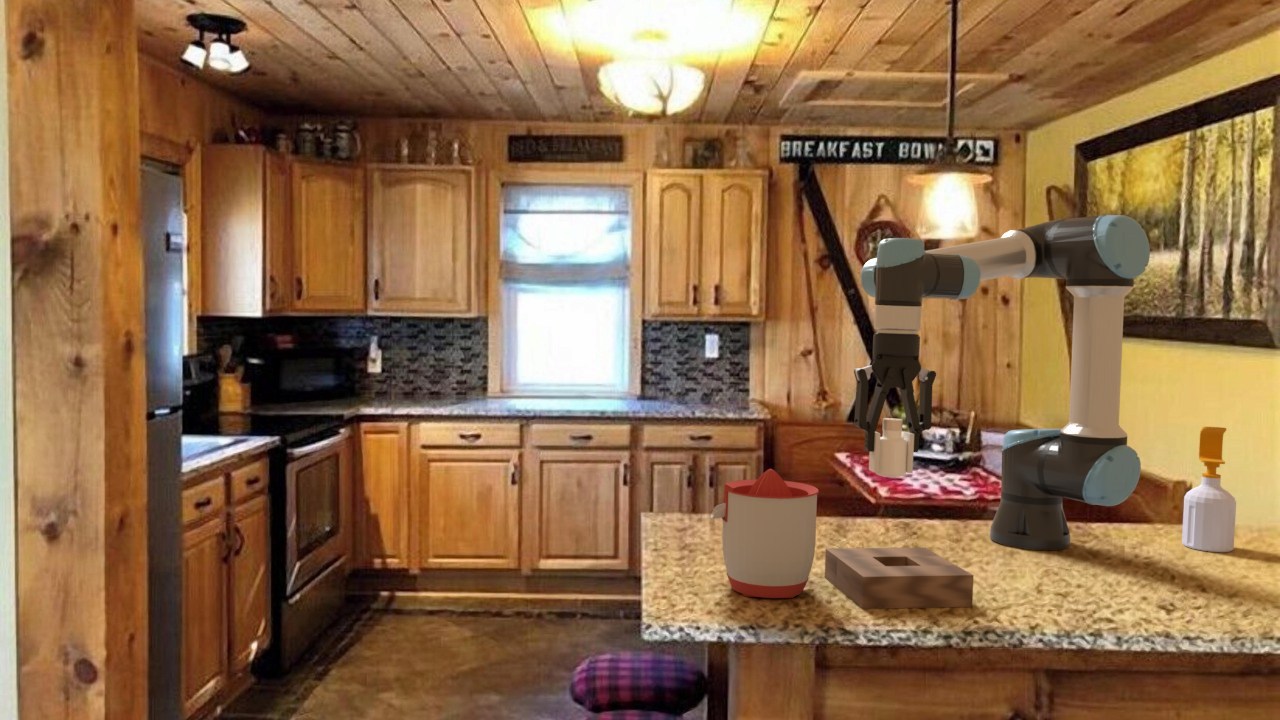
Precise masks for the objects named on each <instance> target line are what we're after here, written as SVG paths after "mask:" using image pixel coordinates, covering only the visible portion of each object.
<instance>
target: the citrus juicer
mask: <svg viewBox="0 0 1280 720" xmlns="http://www.w3.org/2000/svg"><path fill="white" fill-rule="evenodd" d="M723 491H724V493H723V503H721V504H717V505H716V506H714V507H713V510H712V512H711V514H710V519H711V520H714V519H721V520H722V532H721V535H722V537H721V538H722V540H721V542H722V553H723V554H722V555H723V561H724V566H725V569H726V577H727V578H728V581H729V584H730V586H731V588H732V589H733V590H734V591H736V592H737V593H740V594H742V595H743V596H744V597H749V598H753V597H756V598H765V599H780V598H781V599H784V598H785V599H793V598H795V597H796V596H799V595H801V594H802V593H803V591H804V590H805V588H806V585H807V583H808V582H809V576H810V573H811V570H812V568H813V567H812V566H813V562H814V557H815V553H816V552H815V551H816V541H817V539H816V536H817V535H816V533H817V504H818V503H817V502H818V494H819V493H820V492H819V489H818V488H817V487H816V486H814V485H810V484H806V483H803V482H798V481H796V482H795V481H789V480H784V479H783V478H782V477H781V476H780V474H778V472H777V471H776V470H774V469H772V468H769V469H766V470H765V472H763V473H762V474H761V475H760V476H759V477H758V479H757V478H756V479H742V480H741V479H739V480H733V481H728V482H726V483H724V490H723Z"/></svg>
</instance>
